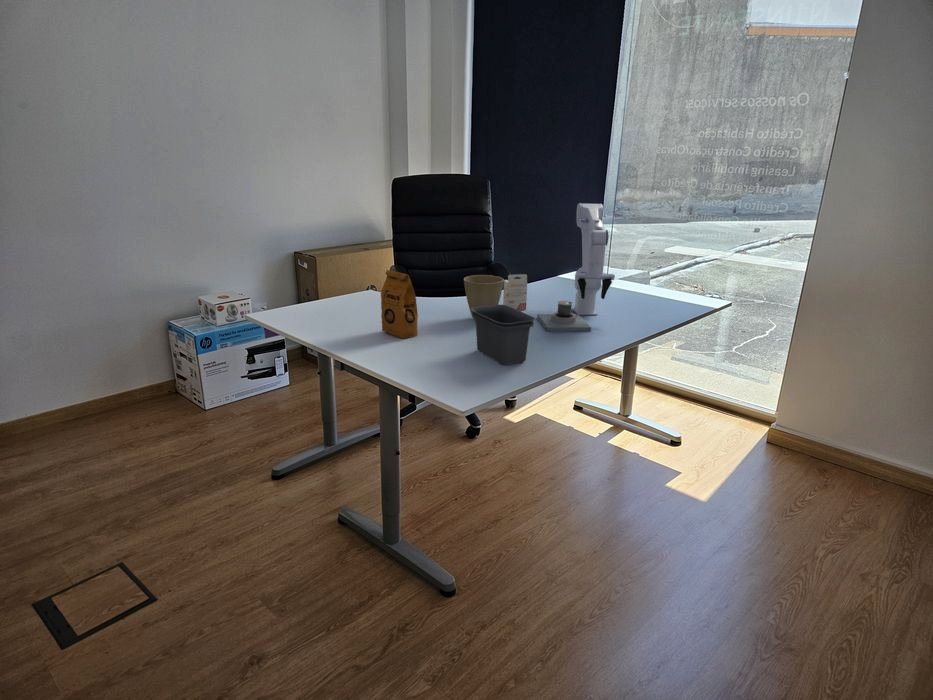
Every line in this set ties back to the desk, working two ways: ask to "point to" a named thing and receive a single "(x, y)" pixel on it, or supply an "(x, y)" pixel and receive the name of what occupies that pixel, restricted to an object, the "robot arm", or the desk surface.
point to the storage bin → (502, 332)
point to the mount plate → (563, 322)
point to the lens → (564, 309)
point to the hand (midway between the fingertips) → (592, 298)
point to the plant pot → (483, 290)
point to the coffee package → (399, 306)
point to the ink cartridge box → (515, 292)
